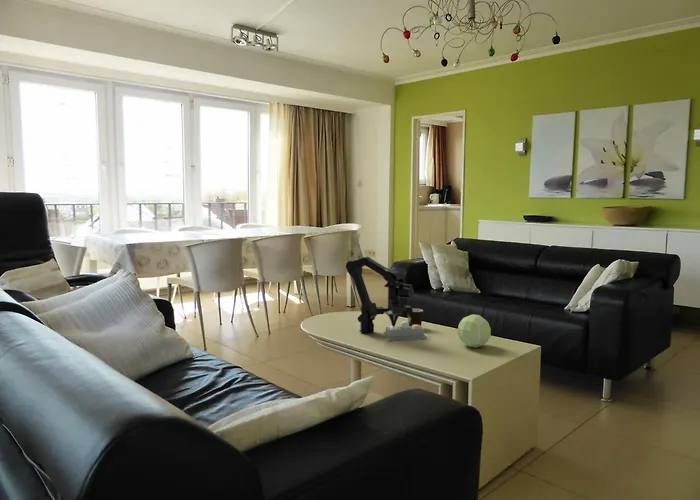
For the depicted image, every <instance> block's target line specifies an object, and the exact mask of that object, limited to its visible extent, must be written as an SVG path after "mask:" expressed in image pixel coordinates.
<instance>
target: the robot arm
mask: <svg viewBox="0 0 700 500" xmlns="http://www.w3.org/2000/svg"><path fill="white" fill-rule="evenodd" d="M363 267H367V268H368V269H370V270H372V271H374V272H375V273H377V274H379V275H380V276H382V278H383V279H384V280H385V282H386V284H385V285H384V286H383V287H384V288H387V307H386V308H385V307H383V306H377V304H376V302H372V301H371V298H370V295H369V292H368V289H367V286H366V284H365V281H364V278H363ZM345 269H346V271H347V273H348V275H350V276H351V278H352V279H353V282H354V285H355V288H356V291H357V294H358V297H359V300H360V303H361V305H360V312H361V313H360V315H358V317H357V322H359V332H360V334H364V335H365V334H374V332H375V324H374V320H376V317H377V316H378V315H384V314H385V315H387V316H388V318H389V321H390V323H391V326H393V327H394V326H396V323H397V322H398V321H397V320H398V318H399V317H400V316H402V315H403V314H402V313H403V312H405V313H406V314H407V313H413V309H414V308H413V307H412V306H411V305H406V303H404V302H402V303H401V299H400V298H404V299H413V297H414V295H415V290H414V287H413V285H412V284H406V281H405V280H404V279H403V277H402V274H401V272H400V271H397V270H395V269H391V268H388V267H386V266H384V265H383V264H381V263H380V262H377V261H376V260H374V259H372V258H371V257H370V256H364V257H362V258H359V259H354V260H349V261H347V262H346V264H345Z"/></svg>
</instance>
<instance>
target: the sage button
mask: <svg viewBox="0 0 700 500" xmlns="http://www.w3.org/2000/svg"><path fill="white" fill-rule="evenodd" d="M400 327H401V329H409V322H408V321H404V320H403V321H401V322H400Z"/></svg>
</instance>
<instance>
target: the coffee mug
mask: <svg viewBox="0 0 700 500" xmlns="http://www.w3.org/2000/svg"><path fill="white" fill-rule="evenodd" d="M423 313H424V310H423V309H421V308H413V313H406V314H407V322H409V326H412V325H420V326H421V327H422V321H423V315H424V314H423Z"/></svg>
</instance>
